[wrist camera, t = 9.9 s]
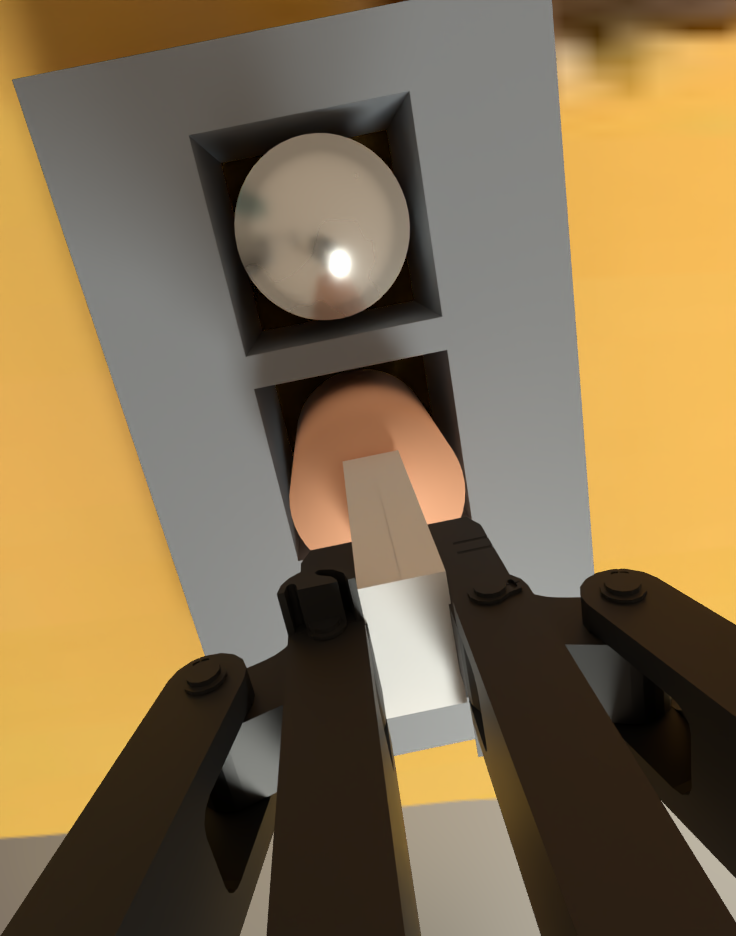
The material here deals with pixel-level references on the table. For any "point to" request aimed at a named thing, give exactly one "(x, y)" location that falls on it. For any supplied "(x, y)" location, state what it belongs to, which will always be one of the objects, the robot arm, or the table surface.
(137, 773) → the robot arm
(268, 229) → the steel plug
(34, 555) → the table surface
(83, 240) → the grey rectangular block
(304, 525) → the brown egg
